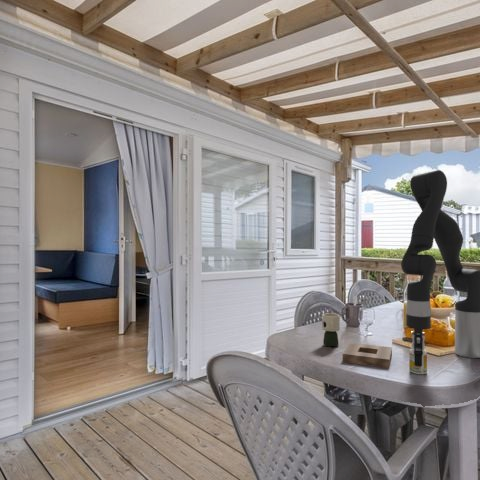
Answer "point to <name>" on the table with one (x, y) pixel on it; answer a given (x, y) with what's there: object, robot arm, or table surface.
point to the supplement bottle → (412, 361)
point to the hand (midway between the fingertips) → (418, 362)
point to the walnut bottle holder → (368, 355)
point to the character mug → (330, 328)
